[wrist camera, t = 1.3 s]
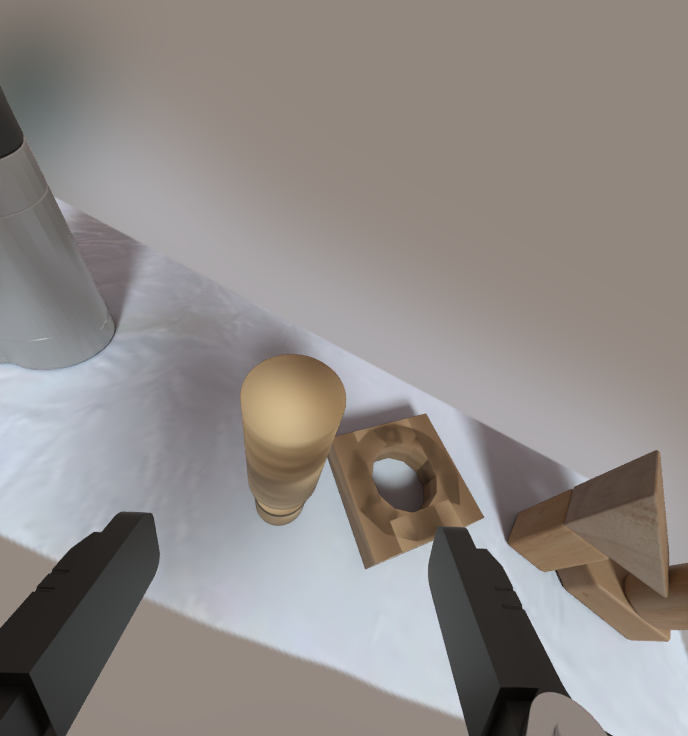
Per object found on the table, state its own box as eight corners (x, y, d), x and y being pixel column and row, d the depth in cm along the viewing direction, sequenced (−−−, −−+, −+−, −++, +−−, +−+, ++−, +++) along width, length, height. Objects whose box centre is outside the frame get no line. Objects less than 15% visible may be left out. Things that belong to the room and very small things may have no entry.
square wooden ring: (365, 569, 25) (375, 563, 23) (325, 451, 31) (330, 437, 28) (466, 526, 29) (484, 517, 27) (415, 428, 34) (425, 413, 32)
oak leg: (256, 539, 25) (251, 455, 13) (245, 480, 28) (232, 362, 15) (316, 519, 27) (361, 427, 15) (300, 465, 29) (327, 348, 17)
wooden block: (516, 511, 31) (724, 416, 17) (632, 598, 28) (996, 570, 14) (504, 544, 29) (730, 467, 15) (627, 643, 26) (1053, 661, 12)
